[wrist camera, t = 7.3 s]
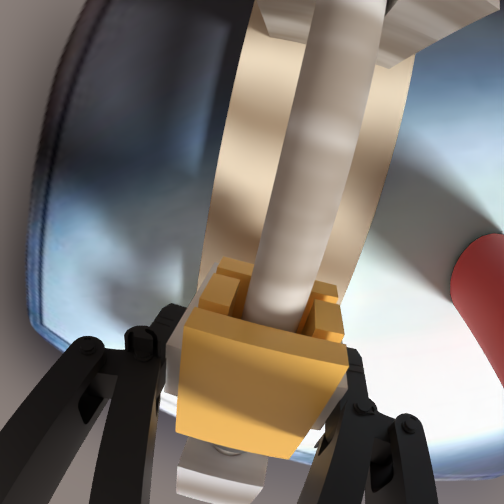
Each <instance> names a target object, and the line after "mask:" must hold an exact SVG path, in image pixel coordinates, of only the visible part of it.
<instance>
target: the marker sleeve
mask: <svg viewBox="0 0 504 504" xmlns="http://www.w3.org/2000/svg"><path fill="white" fill-rule="evenodd" d="M253 268H254V264H251V263H247V262H243V261H239V260H236V259H232V258H228V257H224V256H223V258H222V259H221V261H220V263H219V265H218V266H217V271H216V273H213V275H212V277H211V279H210V280H209V282H208V284H207V286H206V287H205V289H204V291H203V293H202V294H201V296H200V298H199V304H198V307H194V309H193V310H192V312H191V314H190V316H189V317H188V319H187V321H186V323H185V325H184V329H183V339H182V350H181V361H180V372H179V385H178V399H177V415H176V432H178V433H181V434H184V435H187V436H190V437H193V438H196V439H200V440H203V441H207V442H210V443H214V444H218V445H222V446H225V447H229V448H234V449H238V450H242V451H246V452H251V453H256V454H261V455H266V456H272V457H277V458H283V459H289V458H290V457H291V456H292V454H293V453H294V452H295V450H296V449H297V447H298V446H299V445H300V443H301V442H302V440H303V439H304V437H305V436H306V435H307V433H308V432H309V430H310V429H311V427H312V426H313V424H314V423H315V421H316V420H317V418H318V417H319V415H320V414H321V412H322V410H323V409H324V407H325V406H326V404H327V403H328V401H329V399H330V398H331V396H332V395H333V393H334V391H335V390H336V388H337V386H338V385H339V383H340V381H341V380H342V378H343V376H344V374H345V373H346V371H347V369H348V367H349V362H348V355H347V348H346V344H342V343H341V341H342V339H343V337H344V335H345V334H344V328H343V321H342V315H341V309H340V305H338V304H336V303H337V301H338V298H339V297H338V292H337V286H336V285H333V284H329V283H325V282H321V281H317V280H315V282H314V284H313V287H312V290H311V293H310V296H309V299H308V301H307V304H306V307H305V310H304V312H303V315H302V318H301V320H300V323H299V326H298V328H297V331H296V333H292V332H288V331H284V330H280V329H276V328H272V327H268V326H264V325H260V324H256V323H252V322H248V321H244V320H241V317H242V313H243V309H244V305H245V301H246V296H247V292H248V288H249V284H250V280H251V276H252V272H253Z"/></svg>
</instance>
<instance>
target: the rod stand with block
mask: <svg viewBox="0 0 504 504" xmlns="http://www.w3.org/2000/svg"><path fill="white" fill-rule="evenodd" d="M498 10H500V0H255V1H254V5H253V9H252V13H251V16H250V20H249V24H248V28H247V32H246V36H245V40H244V44H243V48H242V52H241V56H240V60H239V65H238V69H237V73H236V78H235V82H234V86H233V91H232V95H231V100H230V105H229V109H228V114H227V119H226V123H225V128H224V133H223V138H222V143H221V148H220V153H219V158H218V164H217V169H216V174H215V180H214V185H213V191H212V196H211V202H210V208H209V214H208V220H207V226H206V232H205V238H204V244H203V251H202V257H201V264H200V270H199V277H198V284H197V291H198V289H199V288H200V286H201V284H202V283H203V281H204V279H205V278H206V276H207V274H208V273H209V271H210V269H211V268H212V266H213V264H214V263H215V262H216V263H220V261H221V259H222V258H223V256H224V257H228V258H232V259H236V260H239V261H243V262H247V263H251V264H254V268H253V272H252V276H251V280H250V284H249V288H248V292H247V296H246V301H245V305H244V309H243V313H242V317H241V320H244V321H248V322H252V323H256V324H260V325H264V326H268V327H272V328H276V329H280V330H284V331H288V332H292V333H296V331H297V328H298V326H299V323H300V320H301V318H302V315H303V312H304V310H305V307H306V304H307V301H308V299H309V296H310V293H311V290H312V287H313V284H314V282H315V280H317V281H321V282H325V283H329V284H333V285H336V286H337V292H338V297H339V298H338V301H337V304H338V305H341V302H342V300H343V297H344V295H345V292H346V290H347V288H348V285H349V283H350V280H351V277H352V275H353V272H354V270H355V267H356V265H357V262H358V259H359V257H360V254H361V251H362V248H363V246H364V243H365V240H366V237H367V234H368V232H369V229H370V226H371V223H372V220H373V217H374V214H375V211H376V208H377V205H378V202H379V199H380V195H381V192H382V189H383V186H384V183H385V179H386V176H387V172H388V169H389V166H390V162H391V158H392V155H393V151H394V148H395V144H396V140H397V136H398V132H399V128H400V124H401V120H402V116H403V112H404V107H405V103H406V98H407V94H408V89H409V84H410V79H411V74H412V69H413V64H414V58H415V53H417V52H419V51H420V50H422V49H424V48H426V47H428V46H429V45H431V44H433V43H435V42H437V41H438V40H440V39H442V38H444V37H446V36H448V35H450V34H451V33H453V32H455V31H457V30H459V29H461V28H463V27H465V26H467V25H469V24H471V23H473V22H475V21H477V20H479V19H481V18H483V17H485V16H487V15H489V14H491V13H494V12H496V11H498ZM197 291H196V293H197ZM268 457H269V456H266V455H261V454H256V453H251V452H246V451H242V450H238V449H234V448H229V447H225V446H222V445H218V444H214V443H210V442H207V441H203V440H200V439H196V438H193V437H190V436H188V439H187V442H186V444H185V447H184V450H183V453H182V455H181V458H180V461H179V464H178V467H177V488H176V493H178V494H181V495H184V496H187V497H190V498H194V499H198V500H202V501H205V502H209V503H213V504H250V503H251V502H252V501H253V500H254V499H255V497H256V496H257V495H258V494H259V493H260V491H261V490H262V489H263V487H264V482H265V476H266V469H267V463H268Z"/></svg>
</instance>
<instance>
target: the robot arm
mask: <svg viewBox="0 0 504 504" xmlns="http://www.w3.org/2000/svg"><path fill="white" fill-rule="evenodd" d="M218 265H219V263H216V262H215V263H214V264H213V266H212V268H211V269H210V271H209V273H208V274H207V276H206V278H205V279H204V281H203V283H202V284H201V286H200V288H199V289H198V291H197V293H196V294H195V296H194V298H193V299H192V301H191V303H190V304H189V306H188V308H186V307H182V306H179V305H176V304H173V303H171V304H169V305H167V306H166V307H164V308H162V310H161V311H160V313H159V314H158V316H157V317H156V318H155V320H154V322H153V323H152V324H151V326H150V327H148V326H135V327H132V328H130V329H129V330H127V331H126V333H125V334H124V339H125V350H116V349H108V348H105V347H104V344H103V342H102V341H101V340H99V339H98V338H96V337H92V336H83V337H80V338H78V339H76V340H75V341H74V342H73V343H72V344H71V345H70V346H69V348H68V349H67V350H66V351H65V352H64V353H63V354H62V356H61V357H60V358H59V359H58V360H57V361H56V363H55V364H54V365H53V366H52V367H51V368H50V370H49V371H48V372H47V373H46V374H45V376H44V377H43V378H42V379H41V380H40V382H39V383H38V384H37V385H36V386H35V388H34V389H33V390H32V391H31V393H30V394H29V395H28V396H27V398H26V399H25V400H24V401H23V403H22V404H21V405H20V406H19V408H18V409H17V410H16V412H15V413H14V414H13V415H12V417H11V418H10V419H9V421H8V422H7V423H6V425H5V426H4V427H3V429H2V430H1V431H0V504H48V503H49V501H50V499H51V498H52V496H53V494H54V492H55V490H56V488H57V487H58V485H59V483H60V481H61V480H62V478H63V476H64V474H65V472H66V471H67V469H68V467H69V466H70V464H71V462H72V460H73V459H74V457H75V455H76V453H77V452H78V450H79V448H80V447H81V445H82V443H83V442H84V440H85V438H86V437H87V435H88V433H89V431H90V430H91V428H92V426H93V425H94V423H95V421H96V420H97V418H98V417H99V415H100V413H101V411H102V410H103V408H104V407H105V405H106V404H107V402H108V400H109V399H112V400H111V404H110V407H109V411H108V415H107V419H106V423H105V427H104V431H103V436H102V440H101V444H100V448H99V454H98V458H97V462H96V467H95V472H94V478H93V483H92V489H91V494H90V500H89V504H149V501H150V500H149V499H150V487H151V476H152V465H153V456H154V446H155V438H156V429H157V421H158V413H159V406H160V393H161V391H162V389H163V387H164V385H165V388H164V392H166V393H169V394H172V395H175V396H178V385H179V372H180V361H181V350H182V339H183V329H184V325H185V323H186V321H187V319H188V317H189V316H190V314H191V312H192V310H193V309H194V307H198V304H199V298H200V296H201V294H202V293H203V291H204V289H205V287H206V286H207V284H208V282H209V280H210V279H211V277H212V275H213V273H216V271H217V266H218ZM336 304H337V303H336ZM341 343H342V341H341ZM342 344H343V343H342ZM346 348H347V355H348V362H349V367H348V369H347V371H346V373H345V374H344V376H343V378H342V380H341V381H340V383H339V385H338V386H337V388H336V390H335V391H334V393H333V395H332V396H331V398H330V399H329V401H328V403H327V404H326V406H325V407H324V409H323V410H322V412H321V414H320V415H319V417H318V418H317V420H316V421H315V423H314V424H313V426H312V427H311V429H315V430H321V428H322V427H323V425H324V424H325V433H324V434H323V436H322V437H321V438H320V439H319V441H318V442H317V443H316V445H315V446H314V448H317V447H318V448H317V451H316V454H315V457H314V460H313V463H312V465H311V468H310V471H309V474H308V476H307V479H306V482H305V484H304V487H303V490H302V492H301V495H300V497H299V499H298V502H297V504H361V502H362V498H363V494H364V489H365V504H438V498H437V492H436V486H435V480H434V475H433V470H432V465H431V460H430V455H429V451H428V446H427V442H426V437H425V433H424V429H423V426H422V424H421V422H420V421H419V419H418V418H417V417H415V416H413V415H411V414H407V413H405V414H401V415H399V416H397V418H396V419H394V418H391V417H389V416H386V415H383V414H381V413H379V412H378V411H377V407H376V405H375V403H374V402H373V401H372V400H371V399H369V398H368V392H367V386H366V380H365V374H364V368H363V363H362V357H361V356H360V354H359V353H358V351H357V350H356V349H353V348H348V347H346Z"/></svg>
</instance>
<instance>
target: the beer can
mask: <svg viewBox="0 0 504 504" xmlns="http://www.w3.org/2000/svg"><path fill="white" fill-rule="evenodd" d="M450 295H451V298H452V301H453V305H454V306H455V308H456V309H457V310H458V312H459V313H460V315H461V316H462V318H463V320H464V321H465V323H466V324H467V326H468V327H469V329H470V330H471V332H472V334H473V335H474V337H475V338H476V340H477V342H478V343H479V345H480V347H481V348H482V350H483V352H484V353H485V355H486V357H487V358H488V360H489V362H490V364H491V365H492V367H493V369H494V371H495V373H496V374H497V376H498V378H499V380H500V382H501V384H502V386H503V388H504V235H503V234H496V233H492V234H488V235H484V236H481V237H480V238H478V239H477V240H475V241H474V242H472V243H471V244H470V245H469V246H468V247H467V248H466V249H465V250H464V252H463V253H462V254H461V256H460V257H459V259H458V261H457V263H456V265H455V266H454V270H453V273H452V277H451V280H450Z"/></svg>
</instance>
